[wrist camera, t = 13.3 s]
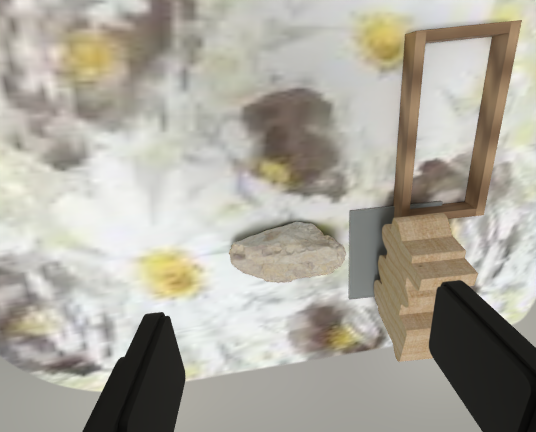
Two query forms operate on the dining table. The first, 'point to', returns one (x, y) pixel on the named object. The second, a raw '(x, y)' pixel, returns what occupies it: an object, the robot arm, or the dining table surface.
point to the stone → (288, 253)
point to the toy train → (416, 278)
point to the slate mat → (369, 246)
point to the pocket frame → (487, 123)
